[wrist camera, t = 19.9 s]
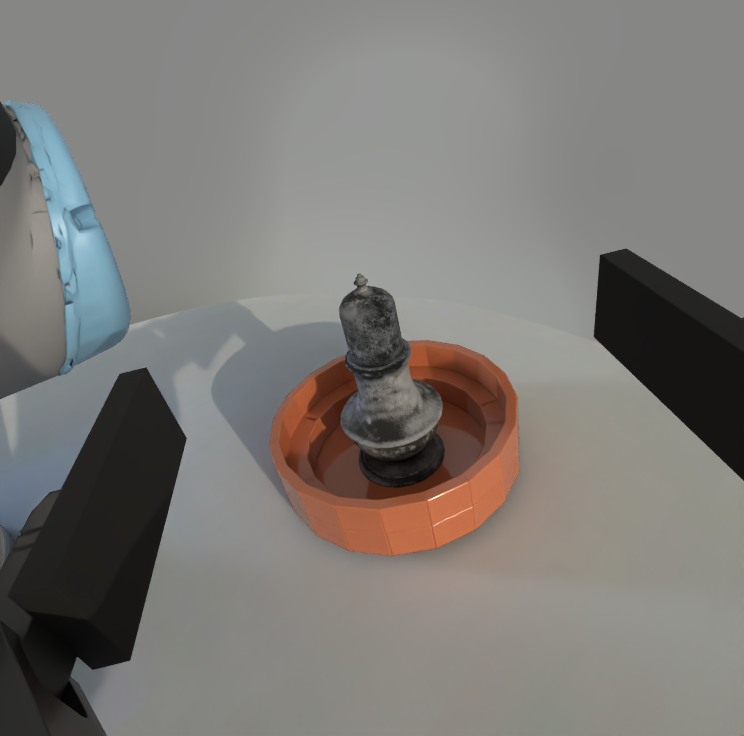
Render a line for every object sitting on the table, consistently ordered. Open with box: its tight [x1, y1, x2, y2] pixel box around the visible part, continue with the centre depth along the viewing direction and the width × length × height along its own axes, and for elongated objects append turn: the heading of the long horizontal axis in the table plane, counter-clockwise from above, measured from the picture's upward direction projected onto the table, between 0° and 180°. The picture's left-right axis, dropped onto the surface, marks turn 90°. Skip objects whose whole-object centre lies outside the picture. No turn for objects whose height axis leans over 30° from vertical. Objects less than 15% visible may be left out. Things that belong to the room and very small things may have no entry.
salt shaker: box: [339, 274, 445, 488], centre depth 26 cm, size 6×6×12 cm
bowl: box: [269, 340, 520, 556], centre depth 29 cm, size 14×14×4 cm
